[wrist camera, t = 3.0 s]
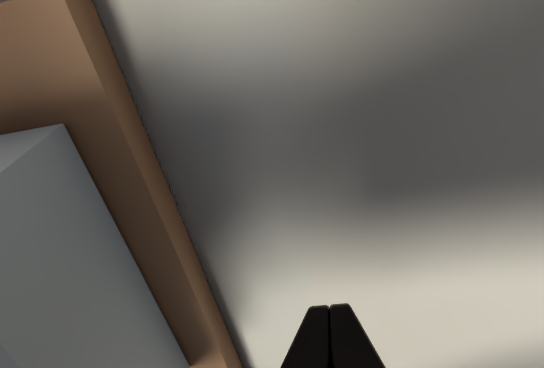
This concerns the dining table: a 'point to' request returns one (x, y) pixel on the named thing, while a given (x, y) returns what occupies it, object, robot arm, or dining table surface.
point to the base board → (109, 156)
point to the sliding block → (69, 267)
